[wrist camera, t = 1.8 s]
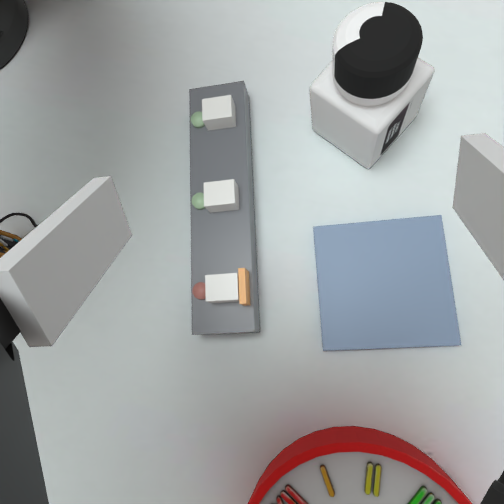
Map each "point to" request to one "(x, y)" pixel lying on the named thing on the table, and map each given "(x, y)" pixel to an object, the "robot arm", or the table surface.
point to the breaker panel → (222, 212)
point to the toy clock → (354, 472)
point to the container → (371, 81)
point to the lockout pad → (385, 285)
